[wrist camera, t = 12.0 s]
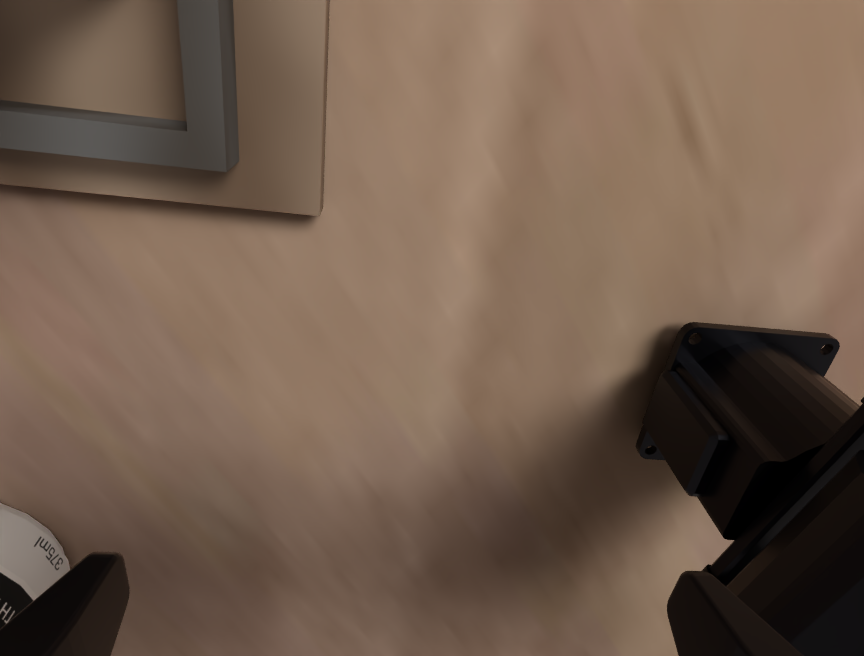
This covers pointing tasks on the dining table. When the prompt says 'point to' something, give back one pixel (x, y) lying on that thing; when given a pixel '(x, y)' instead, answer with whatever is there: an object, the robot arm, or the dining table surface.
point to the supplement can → (26, 561)
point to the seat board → (167, 99)
